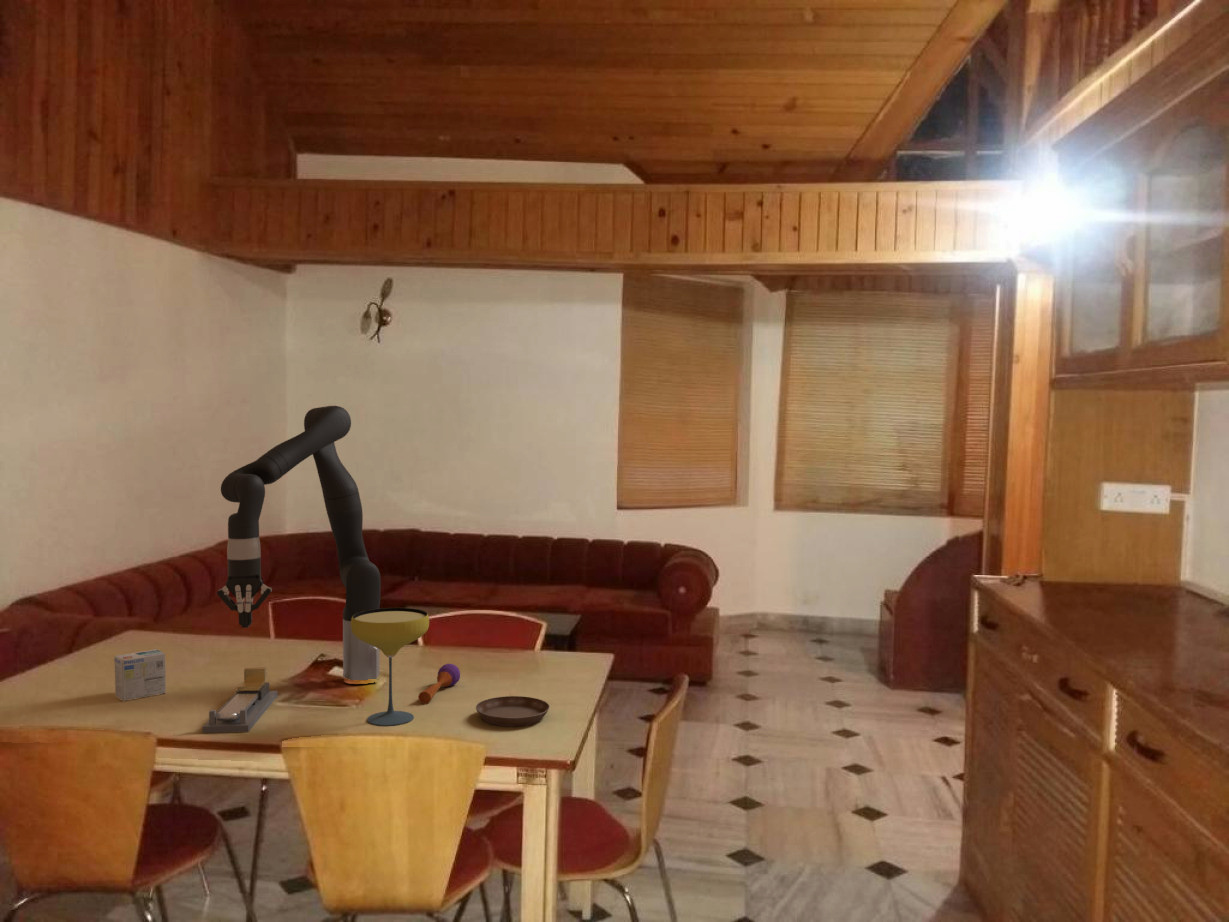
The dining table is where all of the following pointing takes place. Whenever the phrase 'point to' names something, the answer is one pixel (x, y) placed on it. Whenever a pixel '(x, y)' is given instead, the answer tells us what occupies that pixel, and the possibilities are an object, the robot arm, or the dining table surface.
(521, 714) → the plant saucer
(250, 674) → the block
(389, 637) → the cocktail glass
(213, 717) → the base
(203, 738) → the dining table surface
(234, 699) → the grey flat bar
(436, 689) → the purple maraca
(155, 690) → the light bulb box
